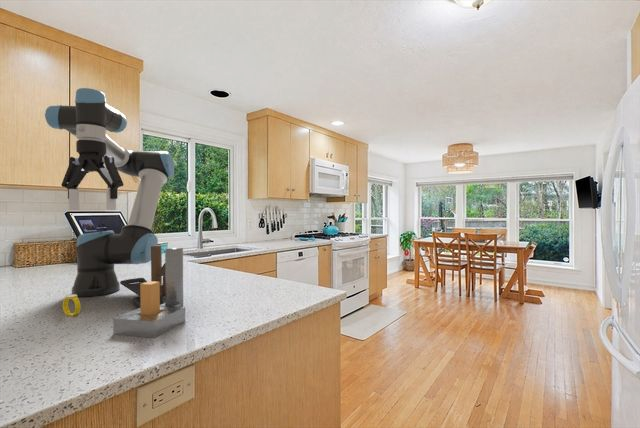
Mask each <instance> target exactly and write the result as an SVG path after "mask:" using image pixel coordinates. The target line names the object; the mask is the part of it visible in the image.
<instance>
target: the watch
mask: <svg viewBox="0 0 640 428" xmlns="http://www.w3.org/2000/svg"><path fill="white" fill-rule="evenodd" d="M70 300H72V301H73V303H74V312H72V311H70V308H69V301H70ZM81 306H82V305H81V302H80V299H79V297H77V295H76V294H73V295H72V294H68V295H66V296H65V298H64V299H63V302H62V310H63V313H64V314H65V316H70V317H74V316H77V315H79V313H80V311H81Z"/></svg>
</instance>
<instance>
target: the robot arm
mask: <svg viewBox="0 0 640 428" xmlns="http://www.w3.org/2000/svg"><path fill="white" fill-rule="evenodd" d="M74 103H75V105H63V104H60V105H49V106H48V107H47V108H46V109H45V112H44V118H45V121H46V123H47V125H48V126H49V127H51V128H53V129H57V130H66V131H67V132H68V133H70V134H71V135H72V136H74V137H75V138H76V139H77V140H76V143H75V144H76V145H75V148H76V149H75V150H76V153H78V154H79V155H78V157H74V156H70V157H69V161H68V163H69V164H68V166H67V169H66V171H65V175H64V177H63V180H62V182H61V187H63V188H66V189H67V198H68V204H69V205H68V207H69V208H68V209H69V210H68V211H80V189H79V188H78V187H79V186H80V185H81V182H82V181H83V180H84V178H85V176H86V175H87V174H89V173H93V172H96V173H98V174H99V176H100V177H101V178H102V180H103V181H104V182H105V184H106V185H107V186H106V187H107V188H105V190H106V195H105V196H106V210H107V211H116V210H117V199H118V189H119V188H121V187H124V182H123V180H122V177H121V175H120V173H123V174H125V175H128V176H130V177H131V176H132V177H136V178H137V177H138V178H139V179H140V182H139V184H138V188H137V192H136V195H135V198H134V201H133V204H132V208H131V211H130V215H129V219H128V223H127V224H126V225H123V226H122V227H121V231H120V233H115V232H114V231H115V230H112V229H111V230H105V231H97V232H89V233H82V234H79V235H78V236H77V239H76V246H75V247H76V261H77V262H76V265H77V266H76V267H77V271H76V276H75V280H74V282H73V286H72V287H71V295H73V294H76V295H77V298H79V297H82V298H83V297H84V298H85V297H96V296H103V295H107V294H112V293H115V292H118V291H119V290H120V285H121V284H120V281H119V280H118V277H117V273H116V271H115V265H140V264H147V263H150V262H151V246H153V245H158V241H159V240H158V238H157V235H155V232H154V230H153V223H154V220H155V215H156V211H157V207H158V203H159V199H160V196H161V192H162V187H163V185H166V183H167V182H168V180H169V179H168V178H173V177H175V176H174V175H175V164H174V159H173V157H172V155H171V153H169V152H168V151H162V150H159V151H148V150H145V151H144V150H141V151H140V150H128V149H127V148H126V147H123V146H120V145H118V144H117V142H115V141H114V140H113V139H112V138H110V137H109V136H108V135H107V131H108V132H110V133H117V134H118V133H121V132H123V131H124V130H125V129H126V128H127V125H128V121H127V118H126V116H125V114H123V113H122V112H120V110H118V109H115V108H114V107H112V106H110V105H109V104H107V99H106V95H105V93H104V92H102V91H100V90H99V89H94V88H89V87H82V88H81V87H80V88H78V89H76V91H75V99H74ZM119 172H120V173H119Z"/></svg>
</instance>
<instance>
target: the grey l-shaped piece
mask: <svg viewBox="0 0 640 428" xmlns="http://www.w3.org/2000/svg"><path fill="white" fill-rule="evenodd" d="M164 261H165V262H164V263H165V295H164V296H165V298H166V303H164V304H161V305H160V313H159V314H156V315H154V316H144V315H141V308H138V309H137V308H135V309H133V310H131V311H129V312H125V313H124V314H120V315H118V316H116V317H114V318H113V319H112V320H113V322H112V323H113V325H112V326H113V335H119V336H120V335H121V336H132V337H142V338H152V339H153V338H154V339H155V338H157V337H158V336H160V335H163V334H164V333H166V332H168V331H170V330H172V329H174V328H175V327H177V326H179V325H181V324H183V323H184V322H186V306H184V247H167V248H165V249H164Z"/></svg>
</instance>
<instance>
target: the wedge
mask: <svg viewBox="0 0 640 428" xmlns="http://www.w3.org/2000/svg"><path fill="white" fill-rule="evenodd" d="M140 300H141V315H144V316H154V315H156V314H159V313H160V282H155V281H151V280H149V281H147V282H145V283H142V284H140Z"/></svg>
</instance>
